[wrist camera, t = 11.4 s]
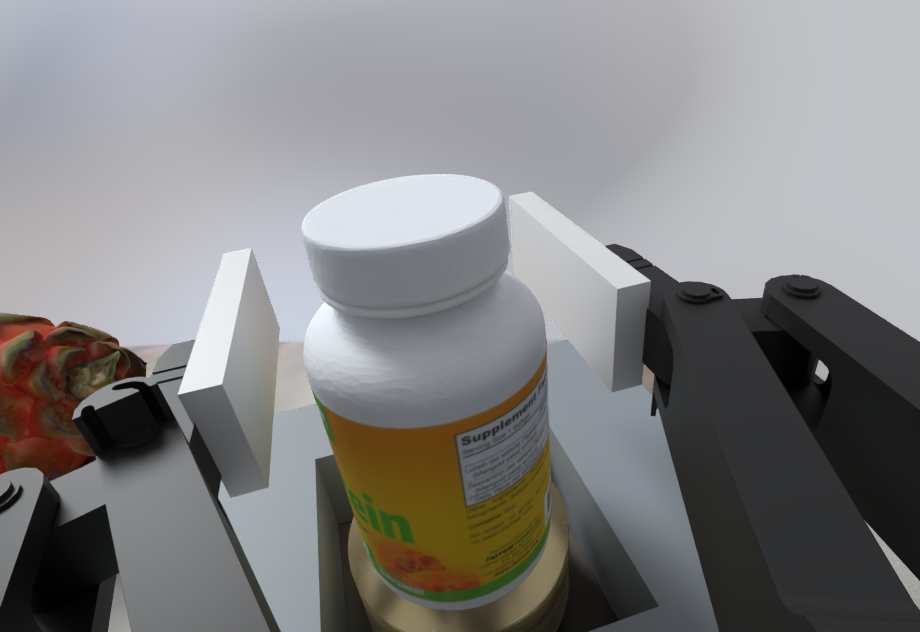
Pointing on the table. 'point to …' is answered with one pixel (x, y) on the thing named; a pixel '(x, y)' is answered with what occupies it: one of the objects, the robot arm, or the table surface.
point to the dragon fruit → (52, 389)
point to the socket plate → (572, 472)
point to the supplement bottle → (432, 385)
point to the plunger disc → (485, 627)
